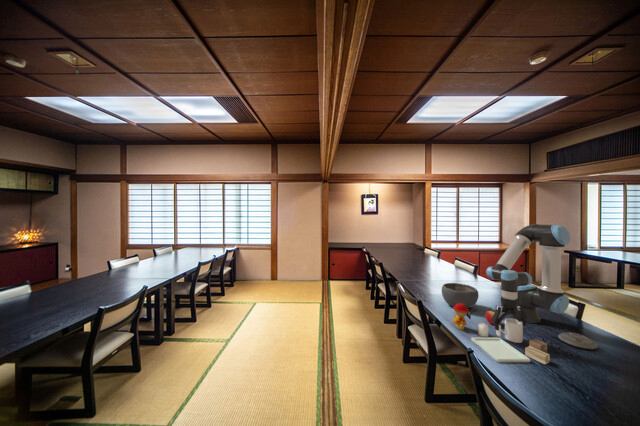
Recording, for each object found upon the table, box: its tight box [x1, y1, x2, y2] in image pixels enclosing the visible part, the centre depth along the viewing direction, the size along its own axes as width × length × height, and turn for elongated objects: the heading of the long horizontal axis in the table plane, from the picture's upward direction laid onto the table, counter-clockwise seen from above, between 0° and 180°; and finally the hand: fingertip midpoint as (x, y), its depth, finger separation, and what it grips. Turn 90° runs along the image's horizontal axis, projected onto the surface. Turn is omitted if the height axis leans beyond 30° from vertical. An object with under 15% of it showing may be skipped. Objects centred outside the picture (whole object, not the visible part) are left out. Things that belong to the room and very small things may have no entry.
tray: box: [470, 337, 531, 363], centre depth 126 cm, size 16×20×2 cm
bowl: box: [441, 282, 480, 309], centre depth 185 cm, size 24×24×15 cm
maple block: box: [524, 345, 551, 365], centre depth 119 cm, size 4×8×4 cm, turn 24°
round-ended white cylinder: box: [477, 322, 489, 338], centre depth 142 cm, size 5×5×6 cm
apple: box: [484, 308, 495, 326], centre depth 156 cm, size 8×8×10 cm
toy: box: [452, 303, 472, 331], centre depth 151 cm, size 11×9×15 cm
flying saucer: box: [557, 331, 598, 350], centre depth 133 cm, size 15×15×6 cm
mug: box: [501, 317, 524, 344], centre depth 138 cm, size 12×8×10 cm, turn 62°
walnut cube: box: [528, 338, 548, 354], centre depth 125 cm, size 5×5×5 cm
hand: (508, 335), depth 138 cm, fingers open, 11 cm apart
